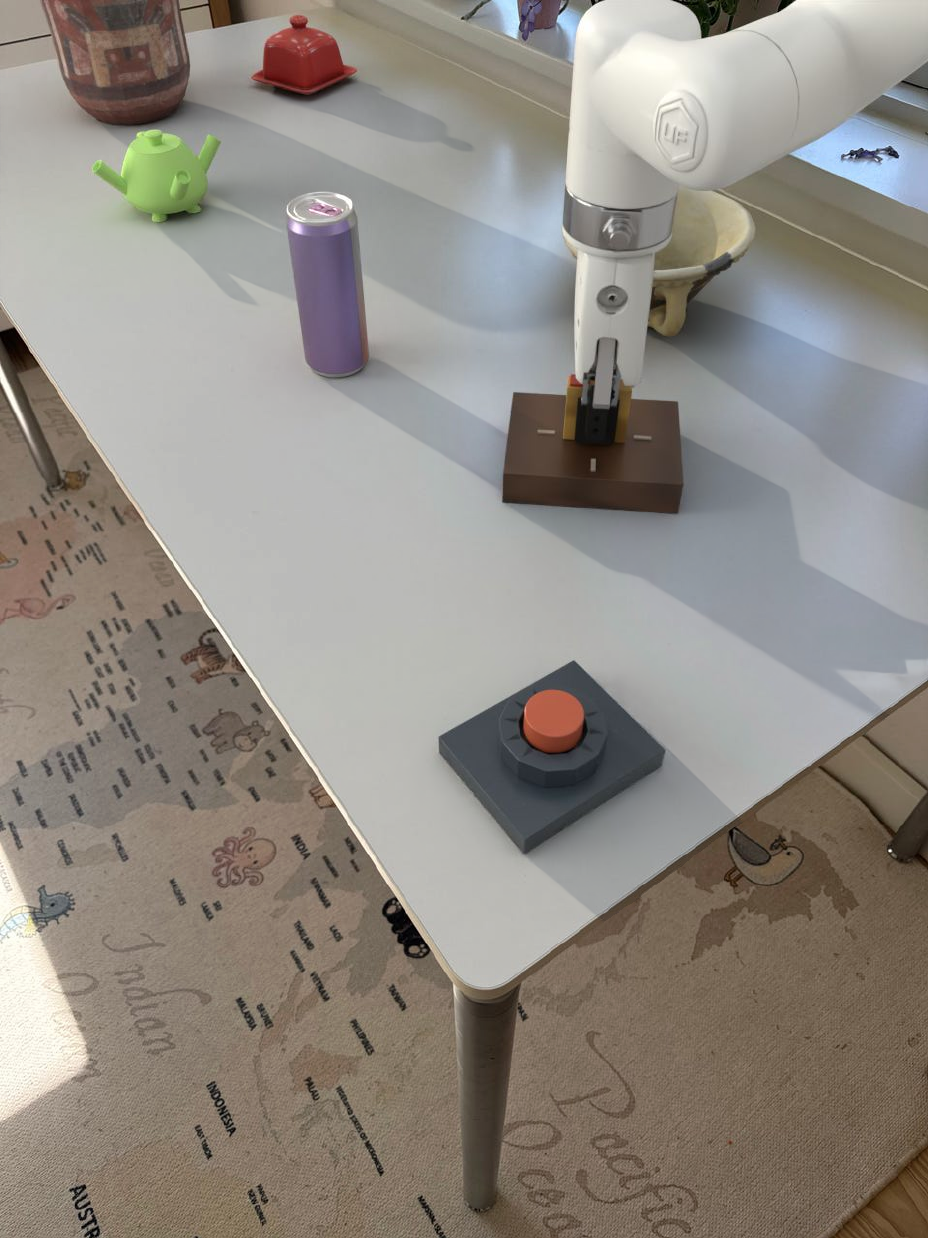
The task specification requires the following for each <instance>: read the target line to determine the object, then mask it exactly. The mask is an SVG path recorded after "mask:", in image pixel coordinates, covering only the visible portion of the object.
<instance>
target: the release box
mask: <svg viewBox="0 0 928 1238" xmlns="http://www.w3.org/2000/svg"><path fill="white" fill-rule="evenodd" d="M545 690H560V691H564V692H567V693H569V694H571V695H572V696H574V697H575V698H576V699H577V700H578V701H579V702H580V704H581V705H582V707H583V710H584V722H583V729H582V735H581V738H580V740H579V742H578V743H577V744H576V745H575V746H574V747H573V748H571V749H570V750H568V751H565V752H562V753H547V752H543V751H540V750H538V749H537V748H535V747H534V746H532V745H531V744H530V743H529V742H528V740H527V739H526V737H525V734H524V730H523V726H524V711H525V706H526V704H527V702H528V701H529V699H530V698H531V697H533V696H534V695H535V694H537V693H539V692H542V691H545ZM437 739H438V753H439V754H440V755H441V756H442V758H443V759H444V760H445V762H447V764H448V765H449V766H450V768H451V769H452V770H453V771H454V772H455V773H456V775H457V776H458V777H459V779H461V781H462V782H463V783H464V785H466V787H467V788H468V789H469V790H470V791H471V793H472V794H473V795H474V796H475V798H476V799H477V800H478V801H479V802H480V804H481V805H482V806H483V808H485V810H486V811H487V812H488V813H489V815H490V816H491V817H492V818H493V820H494V821H496V823H497V824H498V825H499V826H500V828H501V829H502V830H503V831H504V833H505V834H506V835H507V837H509V838H510V840H511V841H512V842H513V844H514V845H515V846H516V847H517V848H518V849H519V851H520V852H521V854H523V855H525V854H527V853H528V852H530V851H532V850H533V849H535V848H536V847H538V846H539V845H541V844H542V843H544V842H545V841H547V840H549V839H550V838H552V837H553V836H555V835H557V834H559V832H561V831H563V830H564V829H566V828H567V827H569V826H570V825H572V824H573V823H575V822H577V821H578V820H580V819H581V818H583V817H584V816H586V815H587V814H589V813H591V812H592V811H593V810H595V809H597V808H598V807H600V806H601V805H603V804H604V803H606V802H608V801H609V800H610V799H612V798H613V797H616V796H617V795H618V794H620V793H622V792H623V791H624V790H626V789H627V788H629V787H631V786H632V785H634V784H635V783H637V782H638V781H640V780H642V779H643V778H645V777H646V776H648V775H649V774H651V773H652V772H654V771H655V770H657V769H659V768H660V767H662V766H663V762H664V758H665V754H666V749H665V748H664V747H663V746H662V745H661V744H660V743H659V742H658V741H657V740H656V739H655V738H654V737H653V736H652V735H651V734H650V733H649V732H648V731H647V730H646V729H645V728H644V727H643V726H642V725H641V724H640V723H639V722H638V721H637V720H636V719H635V718H634V717H633V716H632V715H631V714H630V713H629V712H628V711H626V709H624V708H623V707H622V705H621V704H619V703H618V702H617V701H616V700H615V698H613V696H611V695H610V694H609V693H608V692H607V691H606V690H605V689H604V688H603V687H602V686H601V685H600V684H599V683H598V682H597V681H596V680H595V679H594V678H593V677H592V676H591V675H590V674H589V673H588V672H587V671H586V670H585V669H584V668H583V667H582V666H581V665H580V664H579V663H578V662H577V661H576V660H575V659H573V660H572V661H569V662H568V663H566V664H564V665H562V666H561V667H559V668H557V669H556V670H554V671H552V672H549V674H547V675H544V676H543V677H541V678H540V679H538V680H536V681H534V682H532V683H530V684H529V685H527V686H526V687H524V688H522V689H520V690H519V691H517V692H514V693H512V694H511V695H510V696H508V697H506V698H504V699H502V700H501V701H499V702H497V703H496V704H493V705H491V706H490V707H488V708H486V709H485V710H482V711H481V712H480V713H478V714H476V715H474V716H472V717H470V718H468V719H467V720H465V721H464V722H462V723H460V724H458V725H456V726H455V727H453V728H451V729H450V730H448V731H446V732H445V733H442V734H440V735H439V736H438V737H437Z"/></svg>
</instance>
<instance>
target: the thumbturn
mask: <svg viewBox="0 0 928 1238" xmlns="http://www.w3.org/2000/svg"><path fill="white" fill-rule="evenodd" d="M591 385H595V381H591V380H590V386H591ZM582 387H583V384H581V383H580V382H579V381H578V380H577V379H576V373H575V374H572V373H571V374H570V375H568V376H567V381H566V394H565V395H566V406H565V418H564V431H563V439H569V440H574V438H575V426H576V415H577V404H578V398H582ZM632 396H633V387H632V386H625V385H624V383H623V380H622V378H621V379H620V386H619V393H618V400H620V404H619V411H618V419H617V427H616V435H615V442H619V443H625V439H626V432H627V425H628V418H629V411H630V403H631V399H632Z"/></svg>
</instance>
